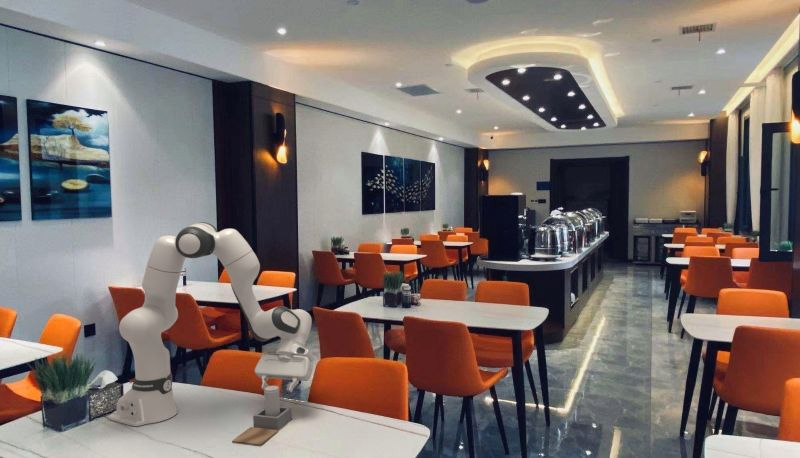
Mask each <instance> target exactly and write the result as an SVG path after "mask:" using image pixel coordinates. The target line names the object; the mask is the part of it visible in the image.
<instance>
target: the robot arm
mask: <svg viewBox="0 0 800 458" xmlns="http://www.w3.org/2000/svg"><path fill="white" fill-rule="evenodd" d="M151 249H152V250H151V252H150V254H149V257H148V261H147V264H146V267H145V272H144V274H143V275H144V276H143V279H142V282H141V288H142V289H143V292H144V302H143V305H142V306H141V307H138V308H135V309H133V310H131V311H129V312H127V314H126V315H124V317H122V319H121V320H120V322H119V326H118V329H119V334H120V336H121V337H122V338H123V340H125V341H127V342H128V344H129V346H130V349H131V351H132V356H133V361H134V373H135V376H134V378H132V379H129V381H128V382H129V384H132V386H131V388H130V389H129V390H128V391H126V392H125V393H123V395H122V396H121V397H120V398H119V399H118V400H117V403H116V410H114V411H113V412H112V413H111V414H110V415H109V416H108V419H109V420H110V421H113V422H114V421H115V422H118V423H121V424H125V425H128V426H133V427H140V426H144V425H149V424H156V423H159V422H163V421H166V420H168V419H171V418H172V417H174V416H175V415H176V414H178V408H177V404H176V401H175V397H174V392H173V374H172V371H171V358H170V357H171V356H170V351H169V349H168V348H166V347H165V345H164V343H163V340H162V333H164V332H166V331H167V330H169V329H170V328H172V326H174V324H175V323H176V321H177V320H178V318H179V312H178V311H179V310H178V308H177V306H176V299H177V298H176V294H177V289H178V285H179V281H180V277H181V273H182V269H183V267H184V266H183V265H184V262H185V261H186V259H188V258H189V259H199V258H203V257H206V256H210V255H214V256H215V257H217V258H218V260H219V262H220V263H221V264H222V266H223V268H224V269H225V271H226V273H227V275H228V277H229V279H230V287H231V290H232V293H233V294H234V295H233V296H234V297H235V299H236V300H237V302H238V305H239V307H240V309H241V311H242V313H243V315H244V318H245V320H246V322H247V326H248V330H249V333H250V335H251V337H253V338H254V339H255V340H256V341H258V342H267V341H270V340H272V339H273V338H276V337H279V338H280V342H279V344H278V347H277V350H276V351H266V352H264V353H262V354H261V356H260V359H259V360H258V362H257V364H256V366H255V367H254V373H255V375H256V376H257V377H258V378H261V381H262V384H261V390H263V391H264V390H265V388H266V387H268V386H270V384H268V383H267V381H268V380H269V379H275V380H288V381H292V382H291V383H290V384H287V385H286V389H285V390H286V392H288V393H293V390H294V388H295V387H296V386H297V385H298V384H299V382H308V381H309V380H311V377H312V373H313V370H314V364H313V363H314V361H315V357H314V355H313V354H312V353H311V352H310V351H309V349H307V348H305V347H306V346H305V345H306V342H307V340H308V339H309V335H310V332H311V329H312V322H313V321H312V316H311V314H310V313H309V312H307V311H306V310H304V309H299V308H296V309H290V308H289V307H286V306H283V305H280V306H275V307H273V308H271V309H269V310H266V311H264V310H263V309H262V308H261V306H260V303H259V301H258V300H257V298H256V296H255V293H254V291H253V285H254V282H255V280H256V279H257V278H258V275H259V272H260V269H261V264H260V261H259V259H258V257H257V254H256V253H255V252H254V250H253V249H252V247H251V246H250V244H249V242H248V241H247V240H246V239H245V238H244V237H243V235H242V234H241V233H240V232H239V231H238V230H237V229H235V228H224V229H222V230H220V231H218V230H217V228H216V227H215V226H214V225H213V224H211V223H210V222H209V223H208V222H206V221H205V222H204V221H200V222H196V223H192V224H189V225H188V226H187V227H184V228H182V229H181V230H180V231H179V232H178V234H177V235H176V236H174V235H163V236H160V237H159V238H158V239H157V240H156V241H155V243H154V245H153V247H152V248H151Z"/></svg>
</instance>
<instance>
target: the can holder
mask: <svg viewBox="0 0 800 458" xmlns="http://www.w3.org/2000/svg"><path fill="white" fill-rule="evenodd" d="M292 412H293V411H292V407H290V406H280V415H278V416H277V417H273V416H265V407H263V408H261V409H260V410H259V411H258V412H256V413H255V414H254V415H253V416H252V418H253V419H252V420H253V421H252V422H253V427H254V428H263V429H271V430H278V431H280V430H281V429H282V428H283V427H285V426H286V425H287V424H288V423H289V422H290V421H292V420H293V418H292V417H293V414H292Z"/></svg>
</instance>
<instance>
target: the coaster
mask: <svg viewBox="0 0 800 458" xmlns="http://www.w3.org/2000/svg"><path fill="white" fill-rule="evenodd" d="M278 433H279V430H271V429H263V428H254V426H250V427H249V428H247V429H246V430H244V431H243V432H242V433H241V434H239V435H237V436H236V437H235V438H234V439H232V442H231V443H232V444H240V445H248V446H256V447H262V446H263V445H264V444H266V443H267V442H268V441H269V440H271V438H273V437H274V436H276V434H278Z"/></svg>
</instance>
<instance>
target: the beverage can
mask: <svg viewBox="0 0 800 458" xmlns="http://www.w3.org/2000/svg"><path fill="white" fill-rule="evenodd" d="M263 393H264V394H263V395H264V396H263V397H264V408H265V416H273V417H277V416H278V415H280V407H281V402H280V400H281V399H280V398H281V397H280V388H279V385H269V386H268V387H266V388H265V390H263Z"/></svg>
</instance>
